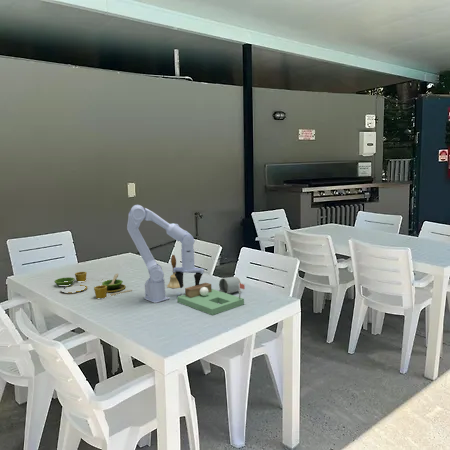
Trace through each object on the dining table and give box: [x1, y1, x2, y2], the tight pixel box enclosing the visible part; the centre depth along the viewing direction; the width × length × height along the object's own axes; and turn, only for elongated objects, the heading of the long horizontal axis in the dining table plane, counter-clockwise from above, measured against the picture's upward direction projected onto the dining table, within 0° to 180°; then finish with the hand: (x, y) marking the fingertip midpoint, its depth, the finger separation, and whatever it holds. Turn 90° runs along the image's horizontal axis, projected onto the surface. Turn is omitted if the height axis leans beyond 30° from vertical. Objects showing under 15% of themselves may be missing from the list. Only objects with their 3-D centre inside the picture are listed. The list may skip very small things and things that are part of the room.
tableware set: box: [54, 271, 133, 299], centre depth 222 cm, size 41×28×6 cm
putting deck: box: [176, 282, 246, 316], centre depth 192 cm, size 26×18×10 cm
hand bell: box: [166, 254, 184, 289], centre depth 220 cm, size 8×8×16 cm
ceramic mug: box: [218, 276, 242, 295], centre depth 208 cm, size 11×8×8 cm
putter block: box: [184, 282, 213, 298], centre depth 199 cm, size 4×12×4 cm, turn 132°
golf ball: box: [200, 287, 209, 296], centre depth 196 cm, size 4×4×4 cm
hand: (189, 287), depth 204 cm, fingers open, 7 cm apart
